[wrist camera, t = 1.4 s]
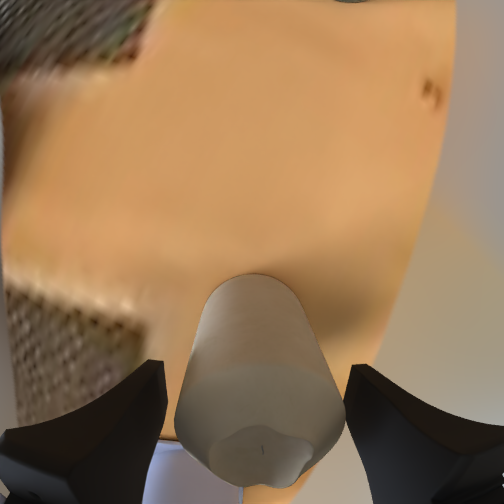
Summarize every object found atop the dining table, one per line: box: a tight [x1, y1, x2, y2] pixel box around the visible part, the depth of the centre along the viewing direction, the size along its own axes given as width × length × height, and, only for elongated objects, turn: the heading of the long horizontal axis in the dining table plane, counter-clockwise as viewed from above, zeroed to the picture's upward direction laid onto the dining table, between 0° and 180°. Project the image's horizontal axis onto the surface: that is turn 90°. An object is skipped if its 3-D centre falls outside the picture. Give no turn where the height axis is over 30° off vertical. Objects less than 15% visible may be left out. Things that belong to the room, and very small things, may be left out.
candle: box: [174, 274, 346, 488], centre depth 12 cm, size 6×6×10 cm
